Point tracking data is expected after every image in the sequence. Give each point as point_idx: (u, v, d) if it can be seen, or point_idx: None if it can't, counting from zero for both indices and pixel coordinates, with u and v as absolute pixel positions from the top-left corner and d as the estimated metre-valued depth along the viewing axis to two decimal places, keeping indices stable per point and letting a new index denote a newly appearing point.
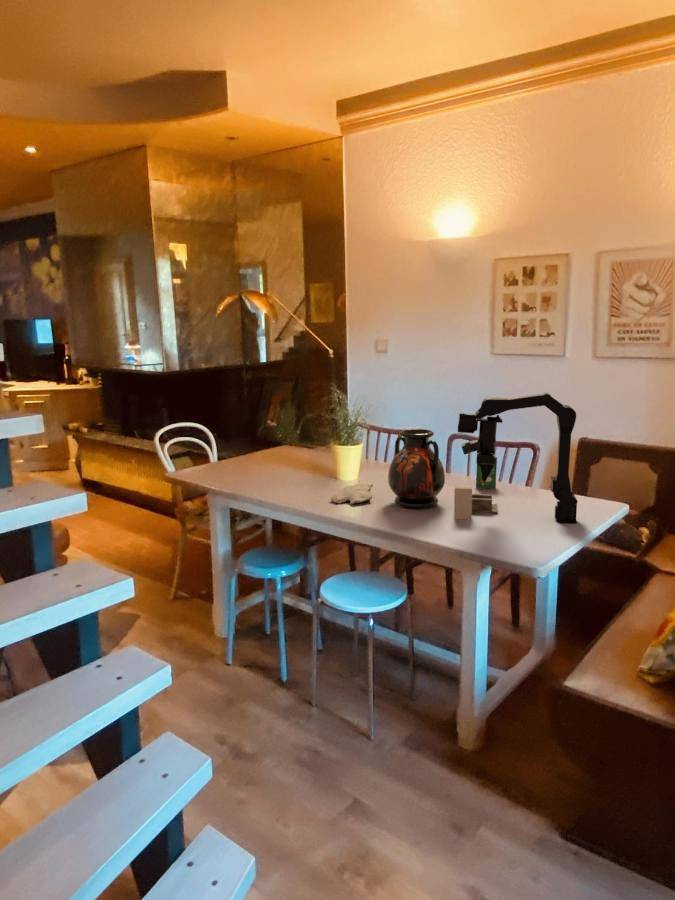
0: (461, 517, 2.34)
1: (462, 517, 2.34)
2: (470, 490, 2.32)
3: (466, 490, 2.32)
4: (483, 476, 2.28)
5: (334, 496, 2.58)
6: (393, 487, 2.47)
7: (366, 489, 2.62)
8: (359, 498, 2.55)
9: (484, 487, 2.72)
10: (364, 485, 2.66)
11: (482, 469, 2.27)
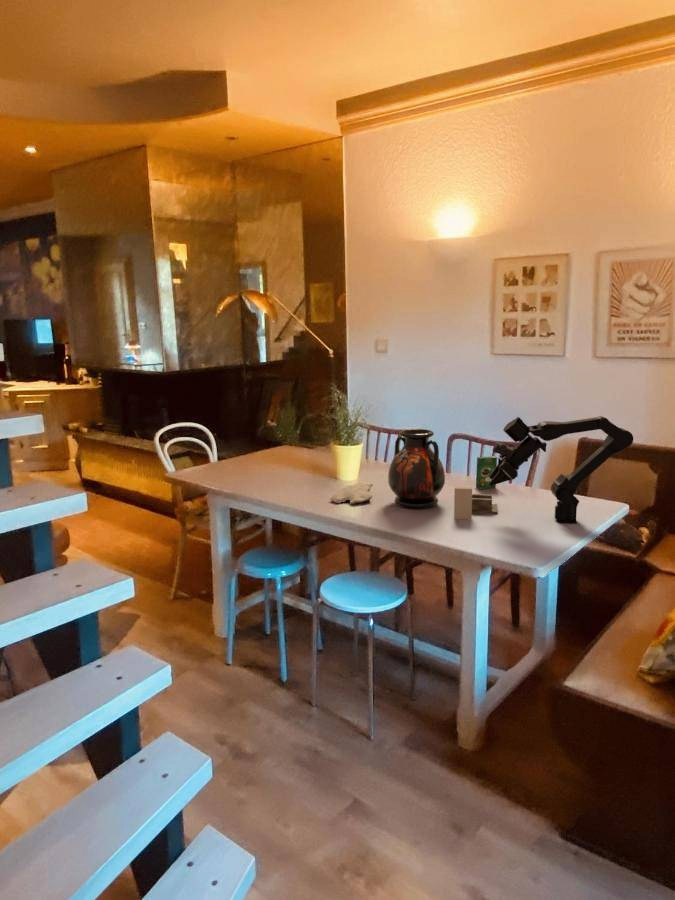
0: (461, 517, 2.34)
1: (462, 517, 2.34)
2: (470, 490, 2.32)
3: (466, 490, 2.32)
4: (493, 480, 2.25)
5: (334, 496, 2.59)
6: (393, 487, 2.47)
7: (366, 489, 2.62)
8: (359, 498, 2.55)
9: (484, 487, 2.72)
10: (364, 485, 2.66)
11: (498, 475, 2.24)
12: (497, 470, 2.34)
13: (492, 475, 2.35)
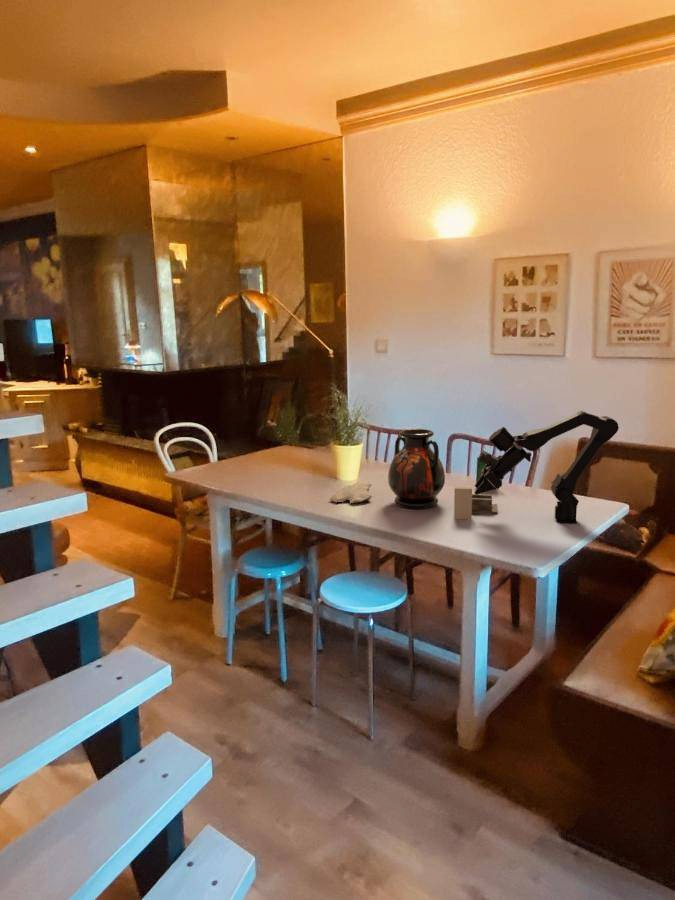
0: (461, 517, 2.34)
1: (462, 517, 2.34)
2: (470, 490, 2.32)
3: (466, 490, 2.32)
4: (478, 490, 2.27)
5: (333, 496, 2.59)
6: (393, 487, 2.47)
7: (365, 489, 2.63)
8: (359, 498, 2.56)
9: None
10: (363, 485, 2.66)
11: (483, 484, 2.26)
12: (482, 479, 2.36)
13: (477, 484, 2.37)
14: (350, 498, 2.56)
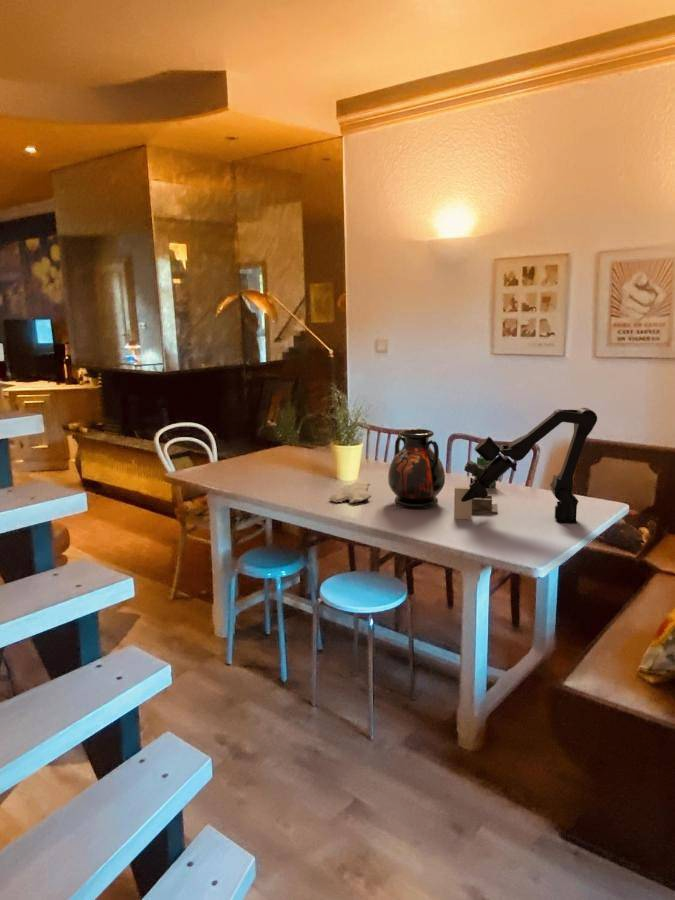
0: (461, 517, 2.34)
1: (462, 517, 2.34)
2: None
3: (466, 490, 2.32)
4: (465, 497, 2.32)
5: (333, 496, 2.59)
6: (393, 487, 2.47)
7: (364, 488, 2.63)
8: (358, 497, 2.56)
9: None
10: (362, 484, 2.67)
11: (469, 491, 2.30)
12: None
13: None
14: (350, 498, 2.57)
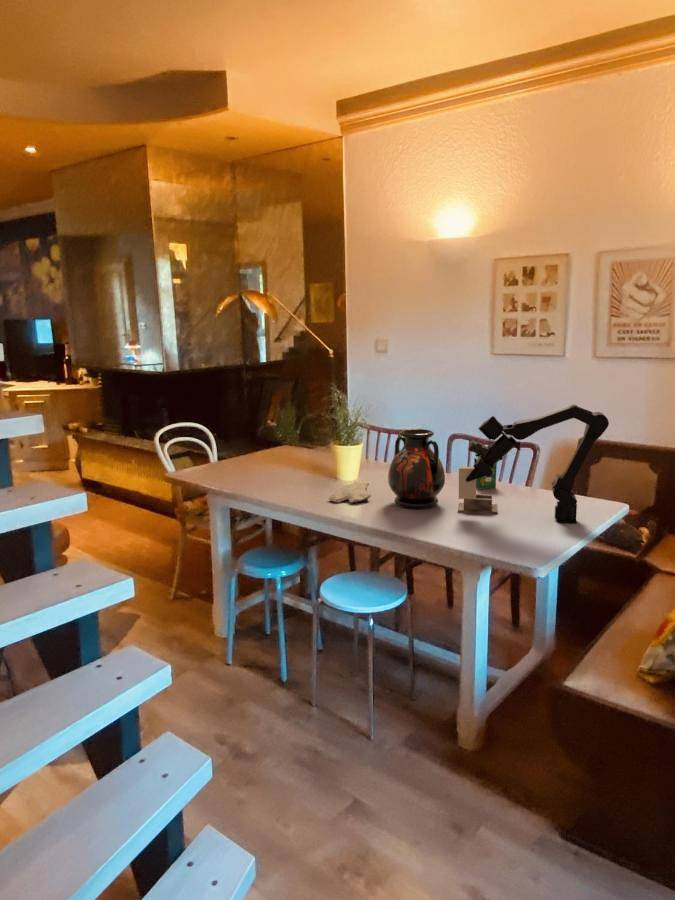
0: (466, 497, 2.35)
1: (467, 497, 2.35)
2: None
3: (470, 470, 2.33)
4: (469, 477, 2.32)
5: (332, 496, 2.59)
6: (393, 486, 2.47)
7: (363, 488, 2.64)
8: (358, 497, 2.56)
9: (484, 487, 2.72)
10: (361, 484, 2.67)
11: (473, 471, 2.31)
12: None
13: None
14: (349, 497, 2.57)
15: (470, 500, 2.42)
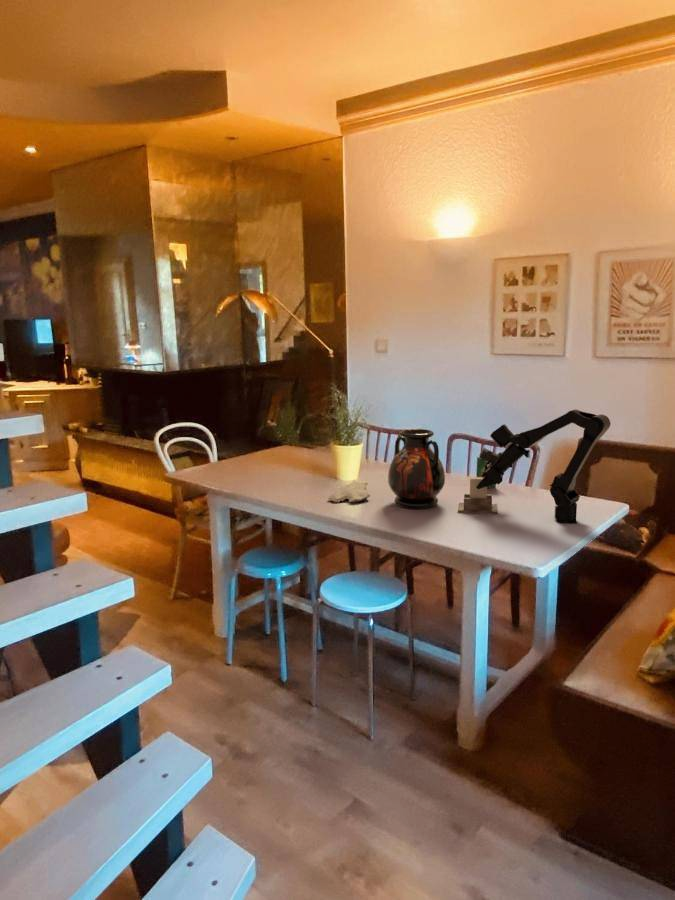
0: None
1: None
2: None
3: None
4: (480, 484, 2.39)
5: (332, 495, 2.60)
6: (393, 486, 2.47)
7: (362, 487, 2.64)
8: (358, 496, 2.57)
9: None
10: (359, 484, 2.68)
11: (484, 479, 2.38)
12: (484, 476, 2.46)
13: None
14: (349, 497, 2.58)
15: (470, 500, 2.42)
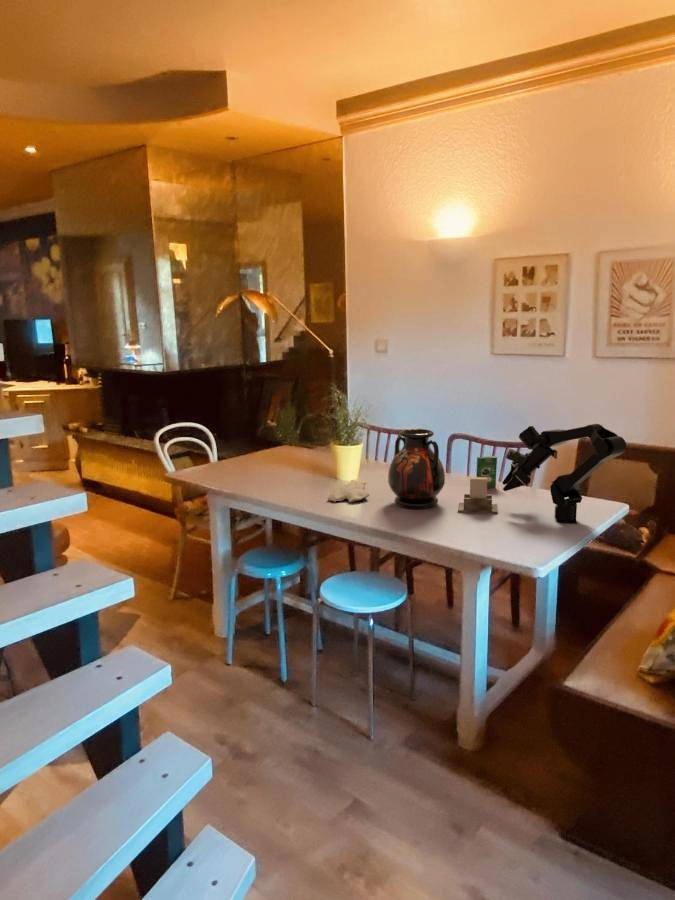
0: None
1: None
2: (485, 480, 2.41)
3: (481, 480, 2.41)
4: (507, 486, 2.36)
5: (331, 495, 2.60)
6: (393, 487, 2.47)
7: (361, 487, 2.65)
8: (357, 496, 2.58)
9: None
10: (358, 483, 2.69)
11: (511, 481, 2.34)
12: (510, 476, 2.45)
13: (505, 481, 2.45)
14: (348, 497, 2.58)
15: (470, 500, 2.42)
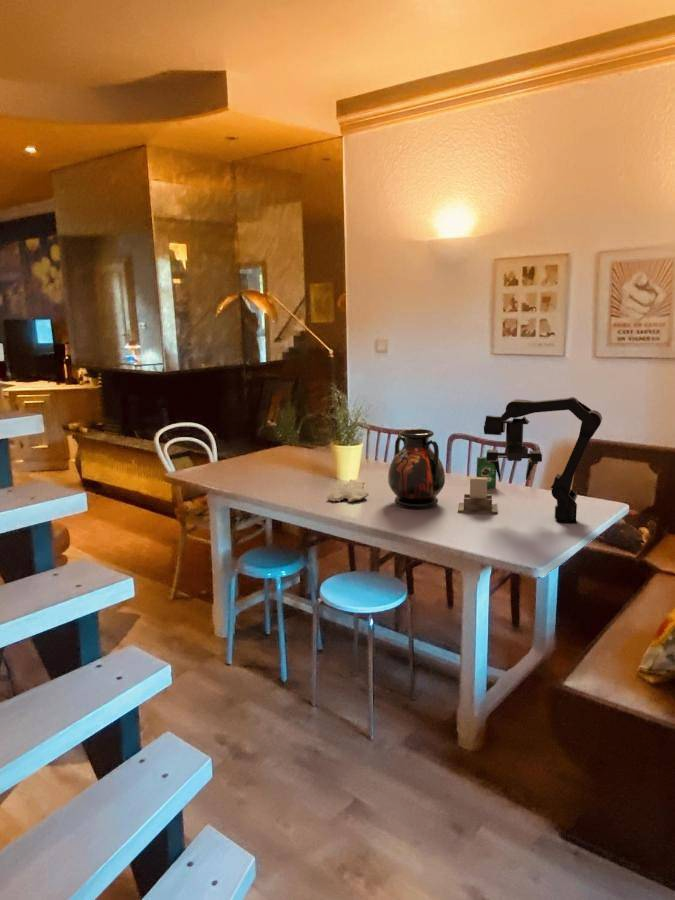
0: None
1: None
2: (485, 480, 2.41)
3: (481, 480, 2.41)
4: (528, 475, 2.33)
5: (331, 495, 2.60)
6: (393, 487, 2.47)
7: (360, 487, 2.65)
8: (357, 496, 2.58)
9: None
10: (357, 483, 2.69)
11: None
12: (499, 468, 2.35)
13: None
14: (348, 497, 2.58)
15: (470, 500, 2.42)
